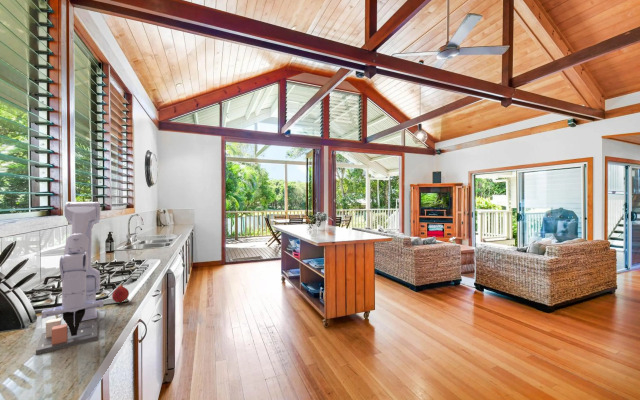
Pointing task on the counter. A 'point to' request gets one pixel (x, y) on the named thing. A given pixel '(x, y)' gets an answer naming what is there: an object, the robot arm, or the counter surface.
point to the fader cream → (51, 326)
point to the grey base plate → (69, 338)
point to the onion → (120, 294)
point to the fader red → (59, 334)
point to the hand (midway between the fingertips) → (74, 334)
